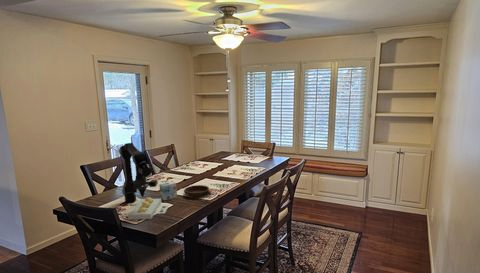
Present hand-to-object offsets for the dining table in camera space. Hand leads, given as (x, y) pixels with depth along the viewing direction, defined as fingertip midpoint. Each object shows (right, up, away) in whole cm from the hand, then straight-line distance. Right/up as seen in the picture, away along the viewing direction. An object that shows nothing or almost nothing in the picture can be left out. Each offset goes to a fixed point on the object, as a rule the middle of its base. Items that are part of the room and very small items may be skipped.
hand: (142, 196), depth 187 cm
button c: (0, -7, +11) cm, 13 cm away
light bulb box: (+10, -6, +27) cm, 29 cm away
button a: (+1, -11, -3) cm, 11 cm away
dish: (+30, -5, +30) cm, 43 cm away
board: (+1, -10, +4) cm, 11 cm away
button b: (+1, -8, +4) cm, 9 cm away
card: (+12, -10, +4) cm, 16 cm away
